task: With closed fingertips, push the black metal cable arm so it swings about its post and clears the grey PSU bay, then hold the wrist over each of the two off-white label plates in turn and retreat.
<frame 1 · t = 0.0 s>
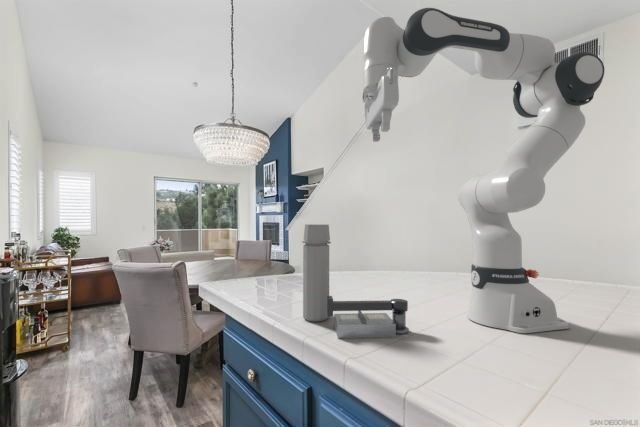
hand: (380, 136, 78), 48 cm above the countertop, fingers open, 8 cm apart
water bottle: (316, 318, 81), on the countertop
psu bay: (363, 331, 71), on the countertop
pivot post: (399, 330, 71), on the countertop
cable arm: (367, 305, 71), point 6 cm above the countertop, hinge at 0.0°
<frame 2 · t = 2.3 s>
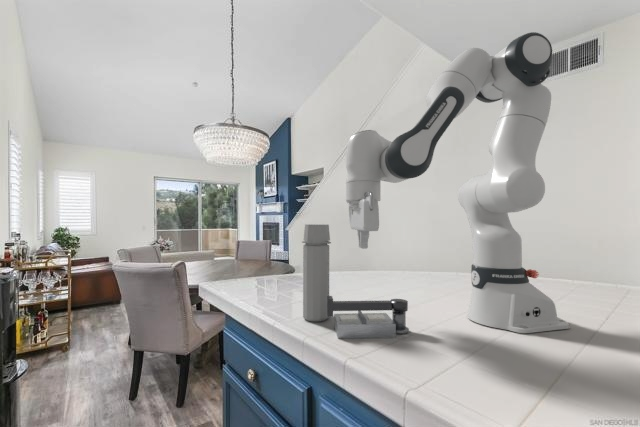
hand: (363, 248, 77), 19 cm above the countertop, fingers closed
nothing on the countertop moved.
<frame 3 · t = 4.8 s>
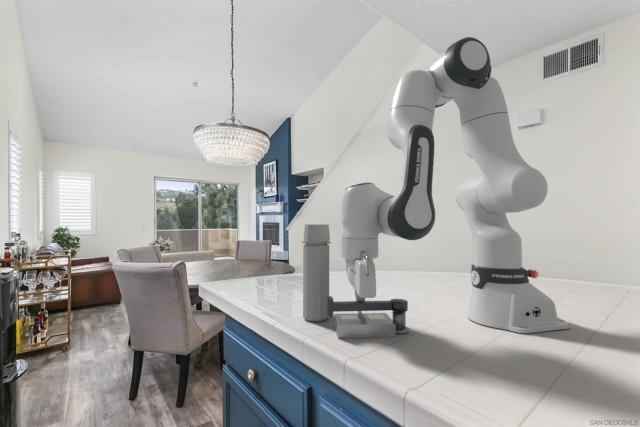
hand: (360, 307, 72), 5 cm above the countertop, fingers closed
cable arm: (367, 305, 71), point 6 cm above the countertop, hinge at 1.6°, touching gripper
everything else where it was.
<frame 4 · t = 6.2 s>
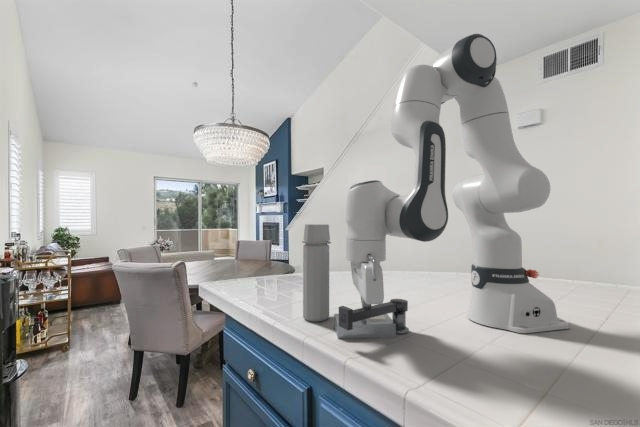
hand: (366, 313, 68), 5 cm above the countertop, fingers closed, pressing on cable arm
cable arm: (376, 310, 67), point 6 cm above the countertop, hinge at 32.1°, touching gripper
everything else where it was.
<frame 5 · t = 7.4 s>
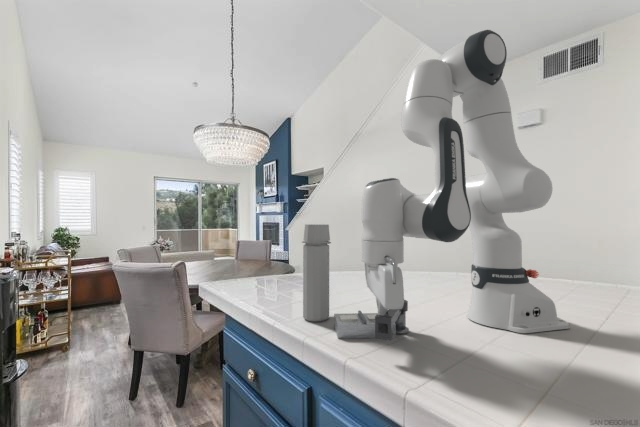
hand: (382, 318, 64), 5 cm above the countertop, fingers closed, pressing on cable arm
cable arm: (392, 314, 64), point 6 cm above the countertop, hinge at 62.8°, touching gripper
everything else where it was.
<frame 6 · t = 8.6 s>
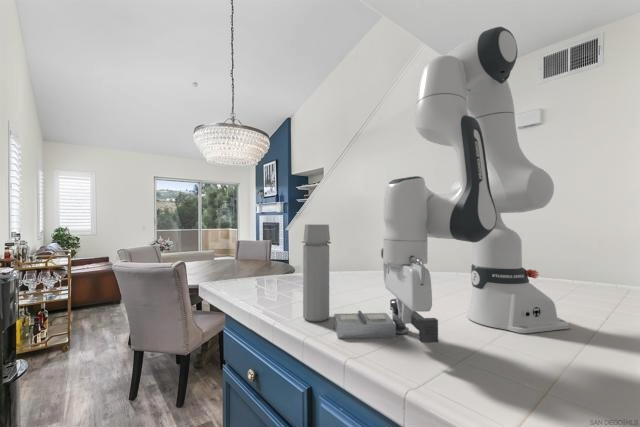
hand: (404, 321, 62), 5 cm above the countertop, fingers closed, pressing on cable arm
cable arm: (410, 315, 64), point 6 cm above the countertop, hinge at 91.0°, touching gripper
everything else where it was.
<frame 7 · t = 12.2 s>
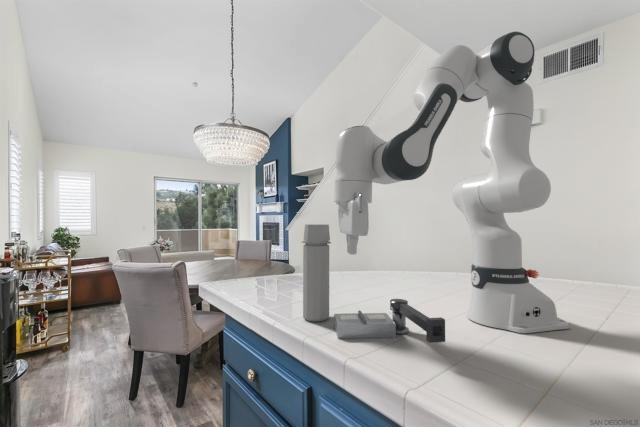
hand: (351, 253, 71), 18 cm above the countertop, fingers closed
cable arm: (413, 314, 64), point 6 cm above the countertop, hinge at 95.7°
everything else where it was.
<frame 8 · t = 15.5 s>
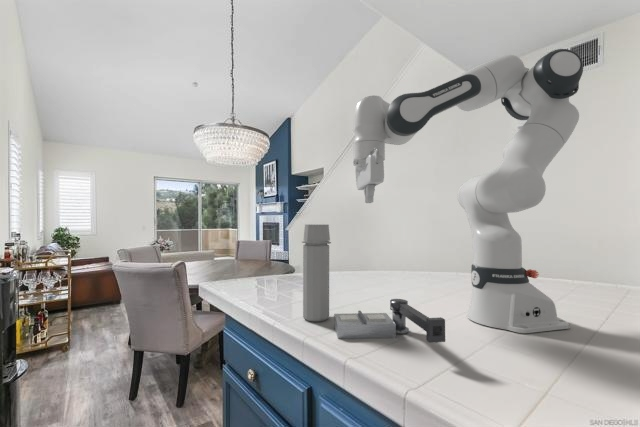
hand: (369, 202, 86), 31 cm above the countertop, fingers closed
nothing on the countertop moved.
at the end: cable arm at +96° (first picture: +0°); water bottle moved 0.2 cm from its start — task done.
